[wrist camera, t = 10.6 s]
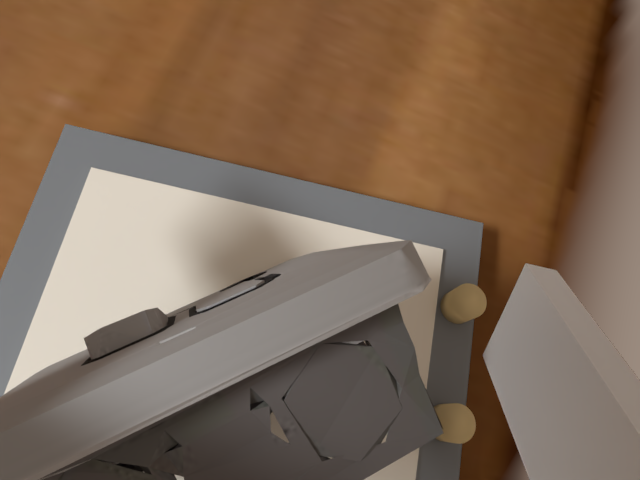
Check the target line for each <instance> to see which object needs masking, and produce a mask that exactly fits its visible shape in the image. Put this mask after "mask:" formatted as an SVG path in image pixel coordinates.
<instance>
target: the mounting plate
mask: <svg viewBox="0 0 640 480" xmlns="http://www.w3.org/2000/svg"><path fill="white" fill-rule="evenodd" d="M482 232H483V223H480V222H476V221H472V220H468V219H463V218H459V217H455V216H451V215H447V214H442V213H438V212H434V211H430V210H426V209H421V208H417V207H413V206H409V205H405V204H400V203H396V202H392V201H388V200H383V199H379V198H375V197H371V196H367V195H362V194H358V193H354V192H350V191H346V190H341V189H337V188H333V187H329V186H324V185H320V184H316V183H312V182H308V181H303V180H299V179H295V178H291V177H287V176H282V175H278V174H274V173H270V172H265V171H261V170H257V169H253V168H249V167H244V166H240V165H236V164H232V163H228V162H223V161H219V160H215V159H211V158H206V157H202V156H198V155H194V154H190V153H185V152H181V151H177V150H173V149H169V148H164V147H160V146H156V145H152V144H148V143H143V142H139V141H135V140H131V139H126V138H122V137H118V136H114V135H110V134H105V133H101V132H97V131H93V130H89V129H84V128H80V127H76V126H72V125H67V124H65V126H64V129H63V131H62V134H61V136H60V138H59V141H58V143H57V146H56V148H55V150H54V153H53V155H52V158H51V160H50V162H49V165H48V167H47V170H46V172H45V174H44V177H43V179H42V182H41V184H40V186H39V189H38V191H37V194H36V196H35V198H34V201H33V203H32V206H31V208H30V210H29V213H28V215H27V218H26V220H25V222H24V225H23V227H22V230H21V232H20V234H19V237H18V239H17V242H16V244H15V246H14V249H13V251H12V254H11V256H10V258H9V261H8V263H7V266H6V268H5V270H4V273H3V275H2V278H1V280H0V397H1V396H2V395H4V394H5V393H7V392H8V391H10V390H11V389H13V388H14V387H16V386H17V385H19V384H20V383H22V382H23V381H25V380H26V379H28V378H29V377H31V376H32V375H34V374H35V373H37V372H39V371H41V370H43V369H44V368H46V367H48V366H50V365H52V364H54V363H56V362H59V361H61V360H63V359H66V358H68V357H70V356H72V355H75V354H77V353H79V352H81V351H84V350H86V349H87V346H86V344H85V341H84V338H85V337H87V336H88V335H90V334H91V333H93V332H95V331H96V330H98V329H100V328H102V327H104V326H107V325H109V324H112V323H114V322H117V321H119V320H121V319H124V318H126V317H129V316H131V315H134V314H136V313H139V312H141V311H144V310H147V309H152V308H159V309H160V310H161V311H162V312H163V313H164V314H168V313H170V312H172V311H174V310H177V309H179V308H181V307H183V306H186V305H188V304H190V303H192V302H195V301H197V300H199V299H202V298H204V297H206V296H208V295H211V294H213V293H215V292H217V291H220V290H222V289H224V288H226V287H228V286H230V285H232V284H234V283H237V282H239V281H241V280H243V279H246V278H248V277H251V276H253V275H256V274H258V273H260V272H263V271H265V270H267V269H269V268H272V267H274V266H276V265H279V264H281V263H283V262H285V261H288V260H290V259H293V258H296V257H300V256H303V255H306V254H310V253H313V252H319V251H326V250H333V249H340V248H346V247H353V246H360V245H368V244H377V243H386V242H395V241H405V240H412V242H413V244H414V246H415V248H416V251H417V253H418V255H419V257H420V259H421V261H422V263H423V265H424V267H425V269H426V271H427V273H428V275H429V277H430V278H431V281H430V283H429V284H428V285H427V287H426V288H425V289H424V291H423V292H421V293H419V294H417V295H414V296H412V297H410V298H408V299H406V300H404V301H402V302H400V303H398V305H399V308H400V312H401V315H402V318H403V322H404V324H405V326H406V329H407V331H408V333H409V335H410V338H411V340H412V342H413V344H414V347H415V351H416V357H417V362H418V368H419V374H420V377H421V379H422V381H423V383H424V386H425V388H426V390H427V393H428V395H429V397H430V399H431V402H432V404H433V406H434V409H435V411H436V413H437V415H438V418H439V420H440V422H441V425H442V427H443V429H442V430H443V434H442V435H440V436H438V437H436V438H435V439H433V440H431V441H429V442H428V443H426V444H424V445H423V446H421V447H419V448H417V449H416V450H414V451H412V452H410V453H409V454H407V455H405V456H404V457H402V458H400V459H398V460H397V461H395V462H393V463H392V464H390V465H388V466H386V467H385V468H383V469H381V470H379V471H378V472H376V473H374V474H373V475H371V476H369V477H367V478H366V479H364V480H459V473H460V463H461V452H462V443H465V442H467V441H469V440H470V439H471V438H472V437H473V435H474V433H475V429H476V421H475V417H474V415H473V413H472V412H471V410H470V409H469V408H468V407H466V400H467V389H468V379H469V368H470V358H471V347H472V337H473V327H474V318H477V317H479V316H481V315H482V314H483V313H484V311H485V309H486V305H487V300H486V296H485V294H484V292H483V291H482V290H481V289H480V288H479V287H478V286H477V285H478V274H479V264H480V253H481V243H482ZM364 343H365V341H364ZM365 344H366V343H365ZM270 421H271V433H273V434H274V435H276V436H278V437H279V438H281V439H282V440H284V441H285V442H287V443H289V441H288V439H287V437H286V435H285V434H284V432H283V430H282V428H281V426H280V424H279V423H278V421H277V419H276V417H275V415H274V413H273V412H272V413H271V414H270ZM386 438H387V434H386V436H385V438H384V439H383V441H382V443H384V442H386ZM328 458H330V459H332V458H331V457H328ZM143 472H144V471H143ZM144 473H145V472H144ZM174 475H175V474H174ZM175 477H176V479H177V480H184V477H182V476H178V475H175Z"/></svg>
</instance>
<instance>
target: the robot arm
mask: <svg viewBox="0 0 640 480" xmlns="http://www.w3.org/2000/svg"><path fill="white" fill-rule="evenodd" d="M483 358H484V361H485V364H486V366H487V369H488V372H489V374H490V377H491V380H492V382H493V385H494V387H495V390H496V393H497V395H498V398H499V401H500V403H501V406H502V409H503V411H504V414H505V417H506V419H507V422H508V425H509V427H510V430H511V432H512V435H513V438H514V440H515V443H516V446H517V448H518V451H519V454H520V456H521V459H522V462H523V464H524V467H525V470H526V472H527V475H528V477H529V480H640V380H639V379H638V378H637V376H636V375H635V373H634V372H633V371H632V369H631V368H630V367H629V365H628V364H627V363H626V361H625V360H624V359H623V357H622V356H621V355H620V353H619V352H618V351H617V350H616V348H615V347H614V346H613V344H612V343H611V342H610V340H609V339H608V338H607V336H606V335H605V334H604V332H603V331H602V330H601V329H600V327H599V326H598V324H597V323H596V322H595V320H594V319H593V318H592V316H591V315H590V314H589V312H588V311H587V310H586V308H585V307H584V306H583V305H582V303H581V302H580V301H579V299H578V298H577V297H576V295H575V294H574V293H573V291H572V290H571V289H570V287H569V286H568V285H567V283H566V282H565V281H564V279H563V278H562V277H561V275H560V274H559V273H558V271H557V270H553V269H548V268H544V267H540V266H536V265H531V264H527V263H525V265H524V268H523V270H522V272H521V274H520V276H519V278H518V280H517V283H516V285H515V287H514V289H513V291H512V293H511V295H510V298H509V300H508V302H507V304H506V306H505V308H504V310H503V313H502V315H501V317H500V319H499V321H498V323H497V325H496V328H495V330H494V332H493V334H492V336H491V338H490V340H489V343H488V345H487V347H486V349H485V351H484V353H483Z"/></svg>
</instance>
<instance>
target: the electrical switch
mask: <svg viewBox="0 0 640 480" xmlns="http://www.w3.org/2000/svg"><path fill="white" fill-rule="evenodd" d="M430 281H431V278H430V277H429V275H428V273H427V271H426V269H425V267H424V265H423V263H422V261H421V259H420V257H419V255H418V253H417V251H416V248H415V246H414V244H413V242H412V240H405V241H395V242H386V243H377V244H368V245H360V246H353V247H346V248H340V249H333V250H326V251H319V252H313V253H310V254H306V255H303V256H300V257H296V258H293V259H290V260H288V261H285V262H283V263H281V264H279V265H276V266H274V267H272V268H269V269H267V270H265V271H263V272H260V273H258V274H256V275H253V276H251V277H248V278H246V279H243V280H241V281H239V282H237V283H234V284H232V285H230V286H228V287H226V288H224V289H222V290H220V291H217V292H215V293H213V294H211V295H208V296H206V297H204V298H202V299H199V300H197V301H195V302H192V303H190V304H188V305H186V306H183V307H181V308H179V309H177V310H174V311H172V312H170V313H168V314H164V313H163V312H162V311H161V310H160V309H159V308H152V309H147V310H144V311H141V312H139V313H136V314H134V315H131V316H129V317H126V318H124V319H121V320H119V321H117V322H114V323H112V324H109V325H107V326H104V327H102V328H100V329H98V330H96V331H95V332H93V333H91V334H90V335H88V336H87V337H85V338H84V341H85V344H86V346H87V349H86V350H84V351H81V352H79V353H77V354H75V355H72V356H70V357H68V358H66V359H63V360H61V361H59V362H56V363H54V364H52V365H50V366H48V367H46V368H44V369H43V370H41V371H39V372H37V373H35V374H34V375H32V376H31V377H29V378H28V379H26V380H25V381H23V382H22V383H20V384H19V385H17V386H16V387H14V388H13V389H11V390H10V391H8V392H7V393H5V394H4V395H2V396H1V397H0V480H177V479H176V477H175V475H178V476H182V477H184V480H364V479H366V478H367V477H369V476H371V475H373V474H374V473H376V472H378V471H379V470H381V469H383V468H385V467H386V466H388V465H390V464H392V463H393V462H395V461H397V460H398V459H400V458H402V457H404V456H405V455H407V454H409V453H410V452H412V451H414V450H416V449H417V448H419V447H421V446H423V445H424V444H426V443H428V442H429V441H431V440H433V439H435V438H436V437H438V436H440V435H442V434H443V430H442V429H443V427H442V425H441V422H440V420H439V418H438V415H437V413H436V411H435V409H434V406H433V404H432V402H431V399H430V397H429V395H428V393H427V390H426V388H425V386H424V383H423V381H422V379H421V377H420V374H419V368H418V362H417V357H416V351H415V347H414V344H413V342H412V340H411V338H410V335H409V333H408V331H407V329H406V326H405V324H404V322H403V318H402V315H401V312H400V308H399V305H398V303H400V302H402V301H404V300H406V299H408V298H410V297H412V296H414V295H417V294H419V293H421V292H423V291H424V289H425V288H426V287H427V285H428V284H429V283H430ZM364 341H365V343H366V344H365V343H364ZM272 412H273V413H274V415H275V417H276V419H277V421H278V423H279V424H280V426H281V428H282V430H283V432H284V434H285V435H286V437H287V439H288V441H289V443H287V442H285V441H284V440H282V439H281V438H279V437H278V436H276V435H274V434H273V433H271V421H270V414H271V413H272ZM386 434H387V438H386V442H384V443H382V441H383V439H384V438H385V436H386ZM328 457H331V458H332V459H330V458H328ZM143 471H144V472H145V473H144V472H143ZM174 474H175V475H174Z"/></svg>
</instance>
